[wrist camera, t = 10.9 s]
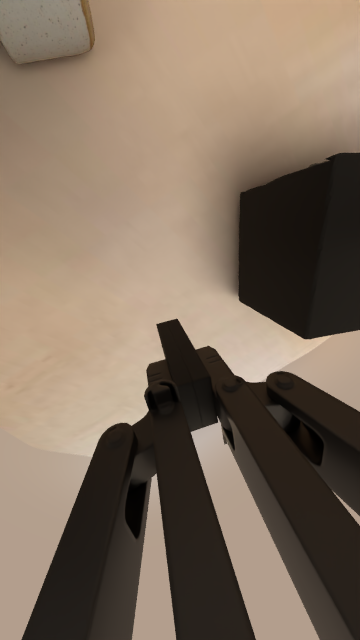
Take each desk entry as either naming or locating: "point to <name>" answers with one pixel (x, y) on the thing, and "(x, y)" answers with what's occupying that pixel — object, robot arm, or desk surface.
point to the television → (304, 248)
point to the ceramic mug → (45, 29)
